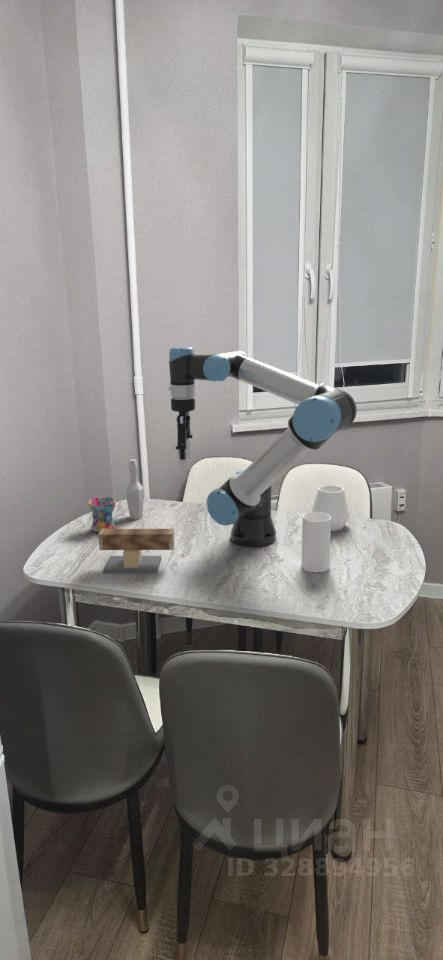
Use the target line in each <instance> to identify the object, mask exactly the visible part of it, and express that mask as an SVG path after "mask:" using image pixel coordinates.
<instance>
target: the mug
mask: <svg viewBox="0 0 443 960" xmlns="http://www.w3.org/2000/svg"><path fill="white" fill-rule="evenodd" d="M87 504H88V506H89V509H90V510H91V513H92V525H91V528H90V529H91V530H92V531H93V532H95V533H99V532H100V530H101V529H116V524H115V522H114V518H113V517H114V516H113V512H114V510H115V506H116V499H115V498H113V497H111V496H110V497H109V496H100V497H99V496H98V497H94V498H92V499H89V500H88V501H87Z"/></svg>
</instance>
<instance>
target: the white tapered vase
mask: <svg viewBox="0 0 443 960" xmlns="http://www.w3.org/2000/svg"><path fill="white" fill-rule="evenodd" d="M311 512H321V513H326V514H328V515H330V516H331V532H336V531H340V530H342V529H344V526H345V525H346V524H347V522H348V521H349V519H350V511H349V507H348V503H347V497H346V492H345V488H344V487H342V486H339V485H335V484H326V485H325V484H324V485H321V486H319V487H318V489H317V492H316V495H315V497H314V502H313V505H312V509H311Z"/></svg>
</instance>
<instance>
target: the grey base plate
mask: <svg viewBox="0 0 443 960" xmlns="http://www.w3.org/2000/svg"><path fill="white" fill-rule="evenodd" d="M161 562H162V555H142V550H122V555H110V556H109V557H108V558H107V561H106V563H105V565H104V567H103V569H102V571H103V574H158V571H159V568H160V566H161Z"/></svg>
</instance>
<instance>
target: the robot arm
mask: <svg viewBox="0 0 443 960" xmlns="http://www.w3.org/2000/svg"><path fill="white" fill-rule="evenodd" d="M168 353H169V357H168V359H169V360H168V365H169V366H168V367H169V376H170V377H169V378H170V381H169V382H170V385H169V387H168V390H169V391H170V397H171V399H170V409H171V411H173V412H178V415H177V416H176V423H177V425H176V427H177V429H176V430H177V444H176V445H177V446H175V450H177V456H178V460H177V461H178V470H180V471H181V470H188V469H189V466H188V459H191V458H192V452H191V451H192V449H191V446H192V445H191V439H193V434H192V432H191V415H190V412H193V411H195V410H196V399H195V396H196V388H195V387H196V386H195V384H196V383H195V380H199V381H209V382H224V381H226V379H227V378H233V379H235V380H238V381H241V382H243V383H246V384H248V385H250V386H253V387H255V388H257V389H261V390H262V391H265V392H266V393H270V394H271V395H273V396H277V397H279V398H280V399H281V398H282V399H284V400H286V401H289V402H291V403H293V404H296V405H297V406H296V408H295V410H294V411H293V415H291V417H290V418H289V419H288V421H287V428H286V430H284V431H283V433H281V435H279V436H278V437H277V438H276V439H274V441H273V442H272V443H271V444H270V445H269V446H268V447H267V448H266V449H265V450H263V452H262V453H260V455H258V457H257V458H255V459H254V461H253V462H252V463H250V465H248V467H246V468H245V469H244V470H238V471H237V472H235V474H232V475H231V476H230V477H229V478H228V479H227V480H226V481H225V482H224V483H223V484H222V485H221V486H220V487H218V488H215V489H213V490H212V491H211V492H210V493H209V494H208V495H207V498H206V509H207V511H208V514H209V516H210V517H211V518H212V520H213V521H214V522H215V523H216V524H218V525H221V526H231V525H232V528H231V531H230V539H231V541H232V542H233V543H235V544H237V545H239V546H246V547H262V546H264V547H265V546H268V545H271V544H273V543H275V541H276V539H277V530H276V528H275V525H274V522H273V518H272V485H273V484H274V483H275V482H276V481H277V480H279V478H281V477H282V475H284V474H285V473H286V472H287V471H288V470H289V469H290V468H291V467H293V465H294V464H296V463H297V462H298V461H299V460H300V459H301V458H302V457H303V456H304V455H305V454H307V453H308V452H309V451H317V450H319V449H320V448H321V447H322V446H323V445H324V444H326V443H327V442H328V441H329V440H330V439H332V437H334V436H335V435H336V434H338V433H340V432H342V431H345V430H347V429H348V428H349V427H351V426H352V424H354V421H355V420H356V417H357V414H358V413H357V409H358V408H357V404H356V401H355V400H354V399H355V398H353V397H352V396H351V394H350V393H348V392H347V391H345V390H343V389H340V388H338V387H335V386H332V385H329V384H327V383H325V382H324V383H320V384H318V383H315V382H312V381H309V380H308V379H304V378H301V377H299V376H296V375H294V374H291V373H289V372H286V371H284V370H281V369H278V368H276V367H274V366H271V365H268V364H266V363H263V362H260V361H259V360H255V359H253V358H251V357H249V356H248V355H247V354H246V352H244V351H242V350H231V351H225V352H220V353H212V354H195V351H194V348H193V347H192V346H175V347H172V348H170V349H169V352H168Z"/></svg>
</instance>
